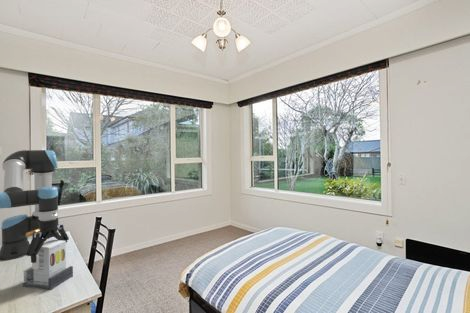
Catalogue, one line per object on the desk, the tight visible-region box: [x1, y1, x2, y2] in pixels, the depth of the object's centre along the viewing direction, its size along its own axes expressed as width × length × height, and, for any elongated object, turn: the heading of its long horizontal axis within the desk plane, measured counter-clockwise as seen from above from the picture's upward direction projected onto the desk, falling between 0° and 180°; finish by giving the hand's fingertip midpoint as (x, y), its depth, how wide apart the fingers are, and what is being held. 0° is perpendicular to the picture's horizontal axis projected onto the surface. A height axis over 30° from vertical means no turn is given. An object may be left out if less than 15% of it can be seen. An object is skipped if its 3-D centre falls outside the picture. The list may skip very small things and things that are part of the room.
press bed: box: [21, 265, 74, 291], centre depth 117 cm, size 12×16×5 cm
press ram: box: [23, 228, 40, 282], centre depth 118 cm, size 11×2×23 cm, turn 171°
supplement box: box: [34, 239, 67, 283], centre depth 117 cm, size 10×9×17 cm
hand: (49, 261), depth 116 cm, fingers open, 13 cm apart
